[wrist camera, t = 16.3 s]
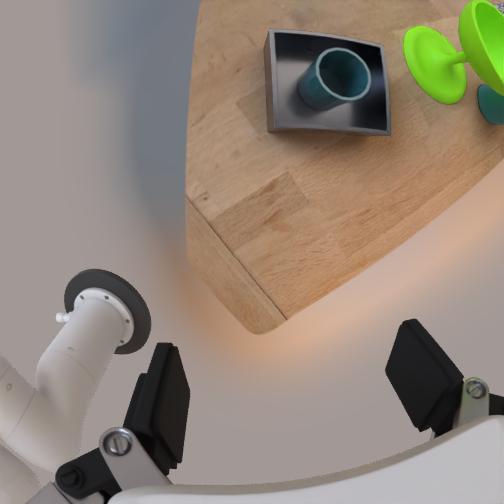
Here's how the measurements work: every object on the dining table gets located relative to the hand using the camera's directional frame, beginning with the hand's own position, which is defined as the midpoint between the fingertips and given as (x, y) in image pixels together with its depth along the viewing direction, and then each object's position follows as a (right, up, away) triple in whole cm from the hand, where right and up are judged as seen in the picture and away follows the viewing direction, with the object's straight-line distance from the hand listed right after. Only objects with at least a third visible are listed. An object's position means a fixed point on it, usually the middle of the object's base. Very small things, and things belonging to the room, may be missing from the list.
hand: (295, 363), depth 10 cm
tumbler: (+8, +27, +21) cm, 35 cm away
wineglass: (+31, +38, +20) cm, 53 cm away
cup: (+48, +36, +21) cm, 64 cm away
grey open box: (+8, +27, +22) cm, 36 cm away
